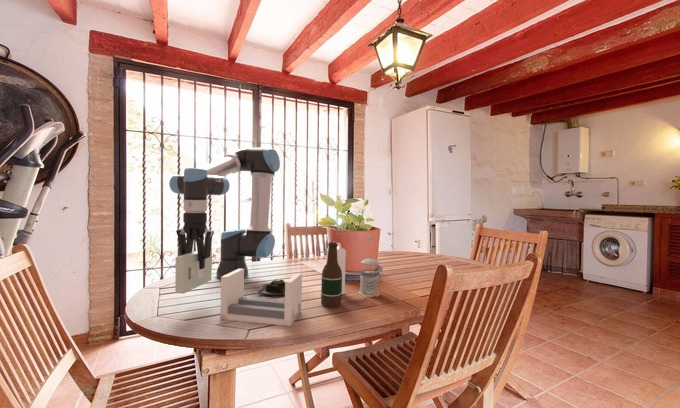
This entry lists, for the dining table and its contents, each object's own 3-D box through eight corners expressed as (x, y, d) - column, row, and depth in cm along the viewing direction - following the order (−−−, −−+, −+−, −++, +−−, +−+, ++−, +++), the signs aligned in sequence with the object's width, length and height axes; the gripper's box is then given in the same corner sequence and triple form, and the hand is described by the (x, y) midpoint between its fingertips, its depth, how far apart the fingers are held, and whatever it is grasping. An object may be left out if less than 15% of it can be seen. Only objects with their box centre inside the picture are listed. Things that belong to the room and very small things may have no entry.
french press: (353, 292, 133) (354, 235, 133) (373, 288, 140) (375, 234, 139) (367, 299, 125) (369, 238, 125) (388, 294, 132) (390, 236, 131)
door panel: (204, 279, 117) (204, 248, 117) (211, 280, 117) (212, 248, 116) (175, 292, 102) (175, 257, 101) (183, 293, 101) (184, 257, 101)
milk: (333, 296, 127) (334, 244, 126) (325, 292, 132) (326, 241, 131) (344, 294, 131) (346, 242, 130) (336, 290, 136) (337, 240, 135)
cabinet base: (220, 318, 101) (221, 276, 100) (238, 306, 113) (239, 268, 112) (290, 326, 97) (291, 282, 97) (300, 312, 109) (302, 273, 108)
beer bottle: (345, 305, 117) (347, 243, 117) (330, 310, 112) (332, 244, 111) (331, 300, 123) (333, 240, 122) (316, 304, 117) (318, 242, 117)
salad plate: (256, 285, 140) (256, 275, 140) (294, 283, 146) (295, 273, 146) (257, 299, 122) (258, 287, 122) (302, 296, 127) (302, 285, 127)
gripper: (167, 211, 106) (167, 278, 107) (210, 213, 103) (209, 282, 104) (181, 210, 113) (181, 273, 114) (222, 212, 111) (221, 276, 111)
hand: (194, 277), depth 109 cm, fingers closed on door panel, 3 cm apart
